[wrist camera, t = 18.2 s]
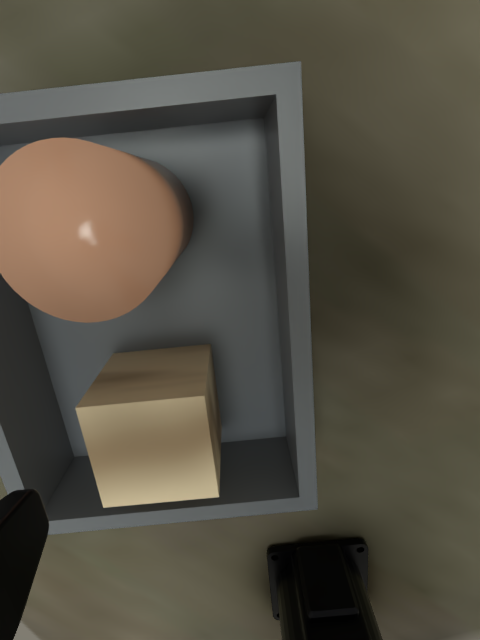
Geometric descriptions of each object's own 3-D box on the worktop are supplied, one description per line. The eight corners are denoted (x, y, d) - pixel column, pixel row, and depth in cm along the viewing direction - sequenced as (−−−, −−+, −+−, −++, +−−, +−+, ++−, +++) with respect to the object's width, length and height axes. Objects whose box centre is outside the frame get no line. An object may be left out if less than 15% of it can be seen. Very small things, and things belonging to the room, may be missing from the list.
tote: (299, 439, 22) (317, 509, 17) (68, 462, 22) (24, 536, 18) (280, 96, 16) (300, 61, 11) (-35, 130, 16) (-144, 109, 12)
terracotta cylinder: (201, 265, 18) (180, 313, 11) (96, 277, 18) (15, 331, 11) (184, 150, 16) (148, 126, 10) (68, 164, 16) (-45, 149, 10)
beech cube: (221, 426, 21) (218, 497, 16) (131, 435, 21) (103, 507, 16) (210, 343, 19) (204, 395, 15) (113, 353, 19) (75, 408, 15)
